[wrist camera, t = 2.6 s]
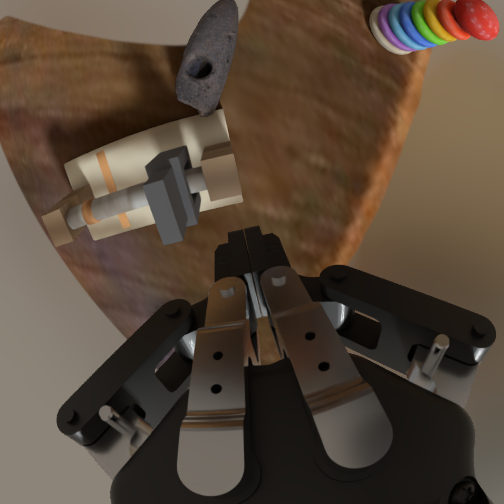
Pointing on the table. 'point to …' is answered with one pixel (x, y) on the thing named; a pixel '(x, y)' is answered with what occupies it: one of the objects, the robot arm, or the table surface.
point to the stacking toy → (431, 23)
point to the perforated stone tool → (208, 58)
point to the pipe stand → (143, 178)
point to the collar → (171, 194)
